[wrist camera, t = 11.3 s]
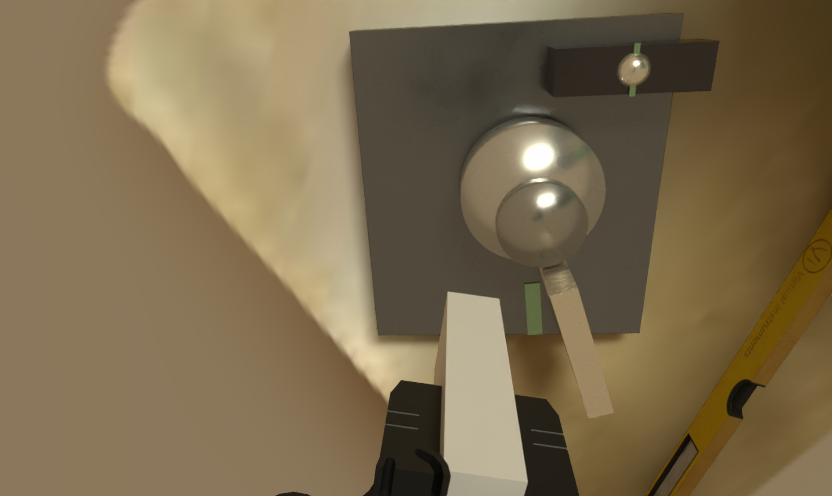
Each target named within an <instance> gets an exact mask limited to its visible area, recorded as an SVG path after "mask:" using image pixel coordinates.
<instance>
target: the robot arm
mask: <svg viewBox="0 0 832 496" xmlns="http://www.w3.org/2000/svg"><path fill="white" fill-rule="evenodd" d="M566 447H567V446H566V443H565V439H564V436H563V431H562V427H561V423H560V419H559V415H558V414H557V413H556V412H555V410H554V409H553V408H552V406H551V405H550V404H549V402H548V401H547V400H546V399H540V398H533V397H526V396H519V395H514V390H513V384H512V378H511V371H510V365H509V359H508V352H507V346H506V339H505V333H504V327H503V320H502V314H501V307H500V301H499V299H498V298H491V297H483V296H476V295H469V294H462V293H455V292H447V298H446V304H445V310H444V316H443V322H442V328H441V334H440V340H439V346H438V352H437V358H436V364H435V373H434V385H432V384H424V383H417V382H410V381H403V380H401V381H400V382H399V383H398V385H397V386H396V387H395V388H394V389H393V391H392V392H391V393H390V399H389V405H388V411H387V417H386V424H385V429H384V436H383V441H382V447H381V453H380V458H379V460H378V463H377V465H376V470H375V479H374V484H373V486H372V487H371V489H370V490H369V491H368V492H367V493H366V494H365V495H363V496H579V493H578V489H577V485H576V481H575V477H574V474H573V470H572V466H571V462H570V458H569V454H568V450H566ZM276 496H310V495H308V494H303V493H297V492H290V493H283V494H278V495H276Z"/></svg>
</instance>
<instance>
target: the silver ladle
mask: <svg viewBox="0 0 832 496" xmlns="http://www.w3.org/2000/svg"><path fill="white" fill-rule="evenodd" d="M605 193H606V186H605V177H604V173H603V170H602V167H601V164H600V162H599V160H598V158H597V156H596V155H595V153H594V152H593V151H592V149H591V148H590V147H589V146H588V145H587V144H586V143H585V142H584V141H583V140H582V139H581V138H580V137H579V136H578V135H577V134H576V133H575V132H574V131H572V130H571V129H570V128H569V127H567V126H565V125H563V124H562V123H559V122H557V121H554V120H551V119H547V118H543V117H521V118H515V119H512V120H508V121H506V122H503V123H501V124H499V125H497V126H495V127H494V128H492V129H490V130H489V131H488V132H487V133H485V134H484V135H483V136H482V137H481V138H480V139H479V140H478V141H477V142H476V143H475V145H474V146H473V147H472V148H471V150H470V152H469V154H468V155H467V157H466V160H465V162H464V165H463V168H462V172H461V179H460V196H461V208H462V213H463V216H464V220H465V222H466V224H467V226H468V228H469V230H470V231H471V233H472V235H473V236H474V237H475V238H476V239H477V241H479V242H480V243H481V244H482V245H483V246H484V247H485V248H487V249H488V250H490V251H491V252H493V253H495V254H497V255H499V256H502V257H504V258H507V259H511V260H514V261H516V262H518V263H519V264H522V265H525V266H528V267H534V268H539V269H540V272H541V275H542V278H543V282H544V285H545V288H546V291H547V294H548V297H549V298H550V301H551V304H552V307H553V310H554V314H555V317H556V320H557V323H558V326H559V329H560V333H561V336H562V339H563V342H564V345H565V348H566V352H567V355H568V358H569V361H570V364H571V367H572V370H573V373H574V376H575V379H576V382H577V385H578V388H579V391H580V394H581V397H582V400H583V403H584V406H585V409H586V412H587V416H588V419H590V418H594V417H599V416H603V415H607V414H611V413H614V410H613V407H612V403H611V400H610V397H609V393H608V390H607V386H606V383H605V379H604V376H603V373H602V369H601V366H600V362H599V359H598V355H597V352H596V349H595V345H594V342H593V338H592V335H591V331H590V328H589V325H588V321H587V318H586V314H585V311H584V307H583V304H582V301H581V297H580V294H579V290H578V287H577V285H576V283H575V280H574V278H573V276H572V274H571V272H570V269H569V267H568V265H567V263H566V260H567V259H569V258H570V257H571V256H573V255H574V254H575V253H576V252H577V251H578V249H579V248H580V247H581V245H582V244H583V242H584V240H585V238H586V236H587V235H588V234H589V233H590V231H591V230H592V229H593V227H594V226H595V224H596V222H597V221H598V219H599V217H600V214H601V212H602V209H603V205H604V201H605Z"/></svg>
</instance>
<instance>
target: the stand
mask: <svg viewBox="0 0 832 496" xmlns="http://www.w3.org/2000/svg"><path fill="white" fill-rule="evenodd" d="M682 20H683V13H665V14H647V15H628V16H610V17H592V18H573V19H555V20H537V21H518V22H500V23H482V24H463V25H445V26H427V27H408V28H390V29H372V30H355V31H350V32H349V35H350V45H351V56H352V66H353V77H354V87H355V98H356V108H357V119H358V129H359V140H360V150H361V161H362V171H363V182H364V192H365V203H366V214H367V224H368V235H369V245H370V256H371V266H372V277H373V287H374V298H375V308H376V319H377V329H378V335H440V334H441V328H442V322H443V316H444V310H445V304H446V298H447V292H455V293H462V294H469V295H476V296H483V297H491V298H498V299H499V301H500V307H501V314H502V320H503V327H504V333H505V334H528V335H538V334H561V333H560V329H559V326H558V323H557V320H556V317H555V314H554V310H553V307H552V304H551V301H550V298H549V297H548V294H547V291H546V288H545V285H544V282H543V278H542V275H541V272H540V269H539V268H534V267H528V266H525V265H522V264H519V263H518V262H516V261H514V260H511V259H507V258H504V257H502V256H499V255H497V254H495V253H493V252H491V251H490V250H488V249H487V248H485V247H484V246H483V245H482V244H481V243H480V242H479V241H477V239H476V238H475V237H474V236H473V235H472V233H471V231H470V230H469V228H468V226H467V224H466V222H465V220H464V216H463V213H462V208H461V196H460V179H461V172H462V168H463V165H464V162H465V160H466V157H467V155H468V154H469V152H470V150H471V148H472V147H473V146H474V145H475V143H476V142H477V141H478V140H479V139H480V138H481V137H482V136H483V135H484V134H485V133H487V132H488V131H489V130H490V129H492V128H494V127H495V126H497V125H499V124H501V123H503V122H506V121H508V120H512V119H515V118H521V117H543V118H547V119H551V120H554V121H557V122H559V123H562V124H563V125H565V126H567V127H569V128H570V129H571V130H572V131H574V132H575V133H576V134H577V135H578V136H579V137H580V138H581V139H582V140H583V141H584V142H585V143H586V144H587V145H588V146H589V147H590V148H591V149H592V151H593V152H594V153H595V155H596V156H597V158H598V160H599V162H600V164H601V167H602V170H603V173H604V177H605V186H606V193H605V201H604V205H603V209H602V212H601V214H600V217H599V219H598V221H597V222H596V224H595V226H594V227H593V229H592V230H591V231H590V233H589V234H588V235H587V236H586V238H585V240H584V242H583V244H582V245H581V247H580V248H579V249H578V251H577V252H576V253H575V254H574V255H573V256H571V257H570V258H569V259H567V260H566V263H567V265H568V267H569V269H570V272H571V274H572V276H573V278H574V280H575V283H576V285H577V287H578V290H579V294H580V297H581V301H582V304H583V307H584V311H585V314H586V318H587V321H588V325H589V328H590V331H591V334H597V333H640V325H641V318H642V311H643V304H644V296H645V289H646V282H647V275H648V267H649V260H650V253H651V246H652V238H653V231H654V224H655V216H656V209H657V202H658V195H659V187H660V180H661V173H662V166H663V158H664V151H665V144H666V137H667V129H668V122H669V115H670V107H671V100H672V93H673V92H692V91H711V87H712V81H713V75H714V69H715V63H716V57H717V51H718V45H719V41H715V40H706V39H683V40H680V35H681V28H682Z"/></svg>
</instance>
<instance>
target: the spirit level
mask: <svg viewBox="0 0 832 496" xmlns="http://www.w3.org/2000/svg"><path fill="white" fill-rule="evenodd" d="M831 292H832V209H831V210H830V212H829V213H828V215H827V217H826V218H825V220H824V221H823V223H822V224H821V226H820V227H819V229H818V230H817V232H816V233H815V235H814V237H813V238H812V240H811V241H810V243H809V244H808V246H807V247H806V249H805V250H804V252H803V253H802V255H801V257H800V258H799V260H798V261H797V263H796V264H795V266H794V267H793V269H792V270H791V272H790V273H789V275H788V277H787V278H786V280H785V281H784V283H783V284H782V286H781V287H780V289H779V290H778V292H777V293H776V295H775V297H774V298H773V300H772V301H771V303H770V304H769V306H768V307H767V309H766V310H765V312H764V313H763V315H762V317H761V318H760V320H759V321H758V323H757V324H756V326H755V327H754V329H753V330H752V332H751V333H750V335H749V337H748V338H747V340H746V341H745V343H744V344H743V346H742V347H741V349H740V350H739V352H738V353H737V355H736V357H735V358H734V360H733V361H732V363H731V364H730V366H729V367H728V369H727V370H726V372H725V373H724V375H723V377H722V378H721V380H720V381H719V383H718V384H717V386H716V387H715V389H714V390H713V392H712V393H711V395H710V397H709V398H708V400H707V401H706V403H705V404H704V406H703V407H702V409H701V410H700V412H699V413H698V415H697V417H696V418H695V420H694V421H693V423H692V424H691V426H690V427H689V429H688V430H687V432H686V433H685V435H684V437H683V438H682V440H681V441H680V443H679V444H678V446H677V447H676V449H675V450H674V452H673V453H672V455H671V457H670V458H669V460H668V461H667V463H666V464H665V466H664V467H663V469H662V470H661V472H660V473H659V475H658V477H657V478H656V480H655V481H654V483H653V484H652V486H651V487H650V489H649V490H648V492H647V494H646V495H645V496H689V495H690V494H691V492H692V491H693V489H694V488H695V487H696V485H697V484H698V482H699V481H700V479H701V478H702V477H703V475H704V474H705V472H706V471H707V469H708V468H709V467H710V465H711V464H712V462H713V461H714V459H715V458H716V457H717V455H718V454H719V452H720V451H721V449H722V448H723V447H724V445H725V444H726V442H727V441H728V439H729V438H730V437H731V435H732V434H733V432H734V431H735V429H736V428H737V427H738V425H739V424H740V422H741V421H742V419H743V415H742V407H743V406H744V404H745V403H746V402H747V400H748V399H749V397H750V396H751V394H752V393H753V391H754V390H755V389H756V387H757V386H761V387H766V385H767V384H768V382H769V381H770V379H771V378H772V377H773V375H774V374H775V372H776V371H777V369H778V368H779V367H780V365H781V364H782V362H783V361H784V359H785V358H786V357H787V355H788V354H789V352H790V351H791V349H792V348H793V347H794V345H795V344H796V342H797V341H798V339H799V338H800V337H801V335H802V334H803V332H804V331H805V329H806V328H807V327H808V325H809V324H810V322H811V321H812V319H813V318H814V317H815V315H816V314H817V312H818V311H819V309H820V308H821V307H822V305H823V304H824V302H825V301H826V299H827V298H828V297H829V295H830V294H831Z"/></svg>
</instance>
